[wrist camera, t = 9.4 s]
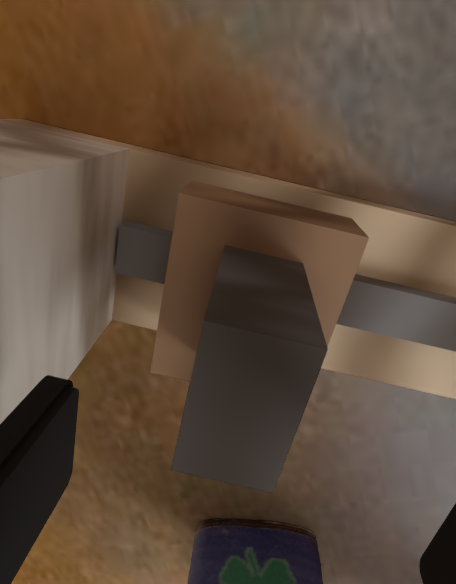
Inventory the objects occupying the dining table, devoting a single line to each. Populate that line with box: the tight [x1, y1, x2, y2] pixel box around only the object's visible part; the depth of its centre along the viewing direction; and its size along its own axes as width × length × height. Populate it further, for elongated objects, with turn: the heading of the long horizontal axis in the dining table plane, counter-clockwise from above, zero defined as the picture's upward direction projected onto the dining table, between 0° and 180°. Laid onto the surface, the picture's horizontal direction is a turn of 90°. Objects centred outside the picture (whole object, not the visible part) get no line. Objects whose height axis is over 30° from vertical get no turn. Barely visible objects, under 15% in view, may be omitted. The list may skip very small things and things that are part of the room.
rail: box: [0, 119, 456, 424], centre depth 15 cm, size 29×9×14 cm, turn 78°
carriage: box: [150, 181, 369, 493], centre depth 14 cm, size 7×8×9 cm
